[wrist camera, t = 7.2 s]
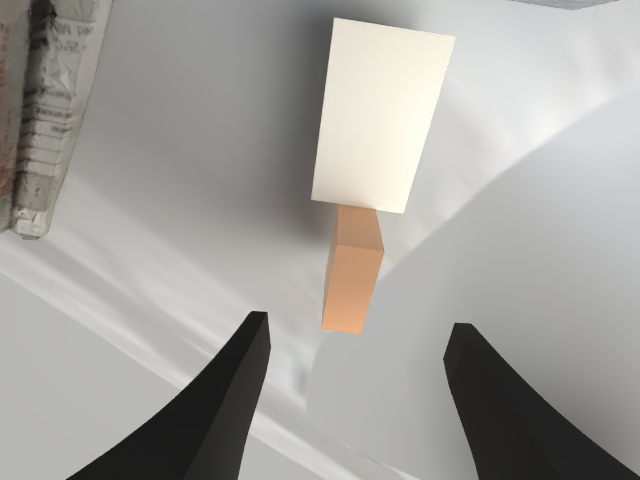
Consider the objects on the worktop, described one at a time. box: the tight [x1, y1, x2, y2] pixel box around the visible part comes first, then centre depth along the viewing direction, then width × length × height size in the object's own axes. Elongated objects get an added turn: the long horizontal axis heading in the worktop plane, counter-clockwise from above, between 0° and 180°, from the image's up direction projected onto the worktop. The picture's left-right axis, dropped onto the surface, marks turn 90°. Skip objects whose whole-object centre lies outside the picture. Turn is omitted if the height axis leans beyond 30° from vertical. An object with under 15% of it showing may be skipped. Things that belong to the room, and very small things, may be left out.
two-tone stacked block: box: [311, 18, 456, 334], centre depth 14 cm, size 5×13×5 cm, turn 172°
